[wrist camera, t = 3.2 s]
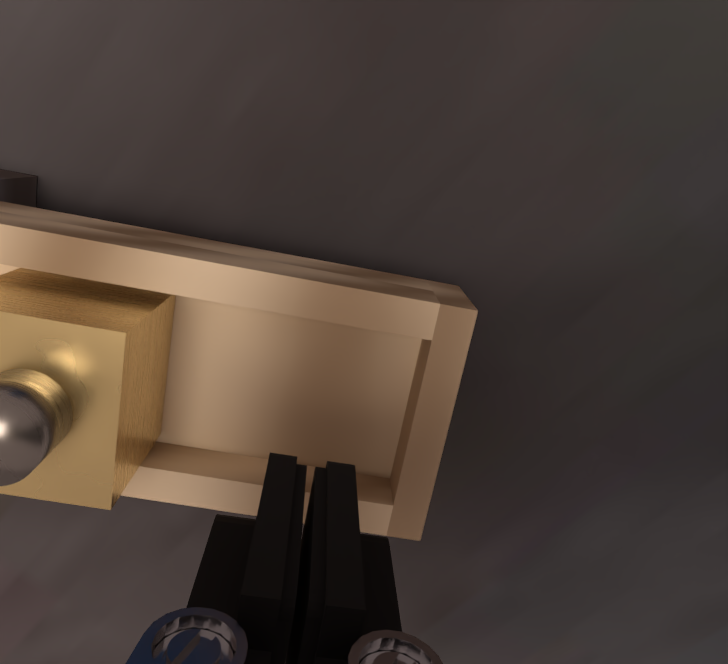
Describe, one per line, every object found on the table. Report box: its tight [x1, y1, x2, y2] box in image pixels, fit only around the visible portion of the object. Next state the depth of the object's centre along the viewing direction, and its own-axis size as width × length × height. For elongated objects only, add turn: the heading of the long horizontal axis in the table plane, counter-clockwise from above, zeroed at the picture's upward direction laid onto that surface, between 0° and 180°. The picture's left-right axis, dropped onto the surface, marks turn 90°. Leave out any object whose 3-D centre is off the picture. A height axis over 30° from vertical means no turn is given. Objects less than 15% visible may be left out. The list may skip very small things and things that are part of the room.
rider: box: [0, 268, 176, 510], centre depth 15 cm, size 4×4×6 cm
